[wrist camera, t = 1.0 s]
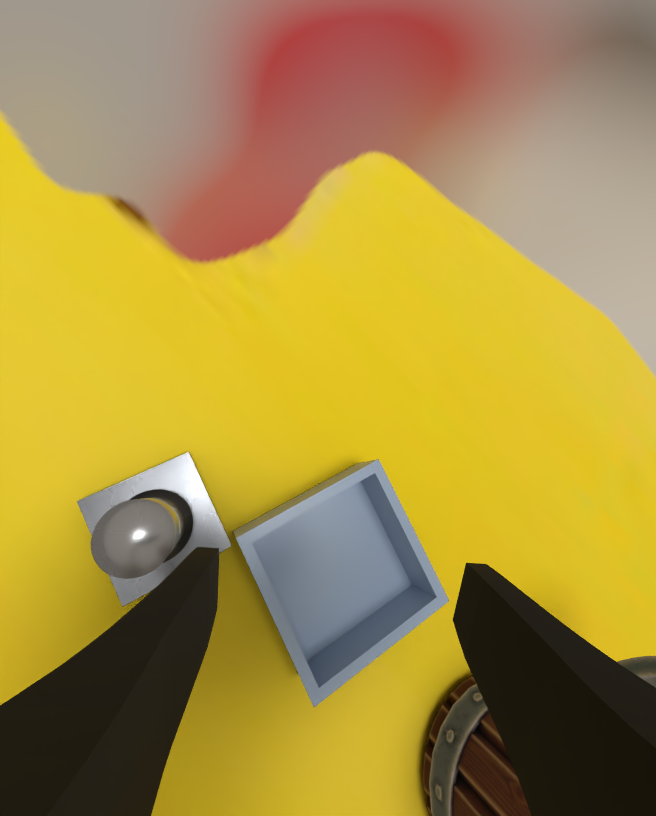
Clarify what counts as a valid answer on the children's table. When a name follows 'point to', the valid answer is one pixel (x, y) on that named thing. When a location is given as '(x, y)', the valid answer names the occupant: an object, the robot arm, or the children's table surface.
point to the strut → (142, 533)
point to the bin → (341, 575)
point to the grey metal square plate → (165, 476)
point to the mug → (480, 755)
